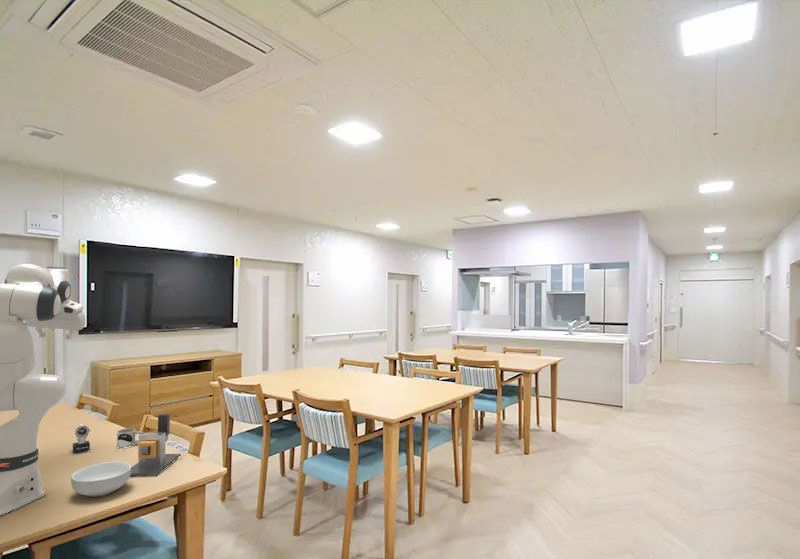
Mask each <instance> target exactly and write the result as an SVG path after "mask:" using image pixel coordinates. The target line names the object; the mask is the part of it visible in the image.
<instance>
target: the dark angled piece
mask: <svg viewBox="0 0 800 559" xmlns="http://www.w3.org/2000/svg"><path fill="white" fill-rule="evenodd" d="M170 420H171V418H170V413H169V414H168V413H166V414H165V413H160V414H159V415H158V416H157V432H166V440H165V443H166V442H168V440H169V435H170V423H171V422H170ZM150 450H151V446H142V447H141V454H148V453H150Z"/></svg>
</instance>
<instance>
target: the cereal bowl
mask: <svg viewBox="0 0 800 559" xmlns="http://www.w3.org/2000/svg"><path fill="white" fill-rule="evenodd" d="M131 467H132V465H131V464H130V463H129V462H125V461H118V460H117V461H105V462H100V463H95V464H92V465H91V464H90V465H88V466H85V467H82V468H79V469H78V470H75V472H73V473H72V474H71V476H70V483H71V488H72V489H73V491H74V492H75V493H77V494H79V495H82V496H88V497H93V498H94V497H95V498H97V497H102V496H106V495H110V494H111V493H114V492H115V491H116V490H119V489H120V488H121V487H123V486H124V485H125V484H126V483H127V482H128V480H130V478H131V477H130V475H131Z"/></svg>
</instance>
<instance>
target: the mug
mask: <svg viewBox="0 0 800 559" xmlns="http://www.w3.org/2000/svg"><path fill="white" fill-rule="evenodd" d="M143 433H144V431H140V430H138V431H137V430H136V428H133V427H132V428H123V429H119V430H117V434H116V436H117V438H116V448H117V447H119V448H118V449H120V448H123V449H125V448H124V447H129V446H133V445H134V444H135V445H136V444H138V443H139V440H136V435H141V434H143ZM135 445H134V446H135ZM134 446H133V447H134ZM129 448H130V447H129Z"/></svg>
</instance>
